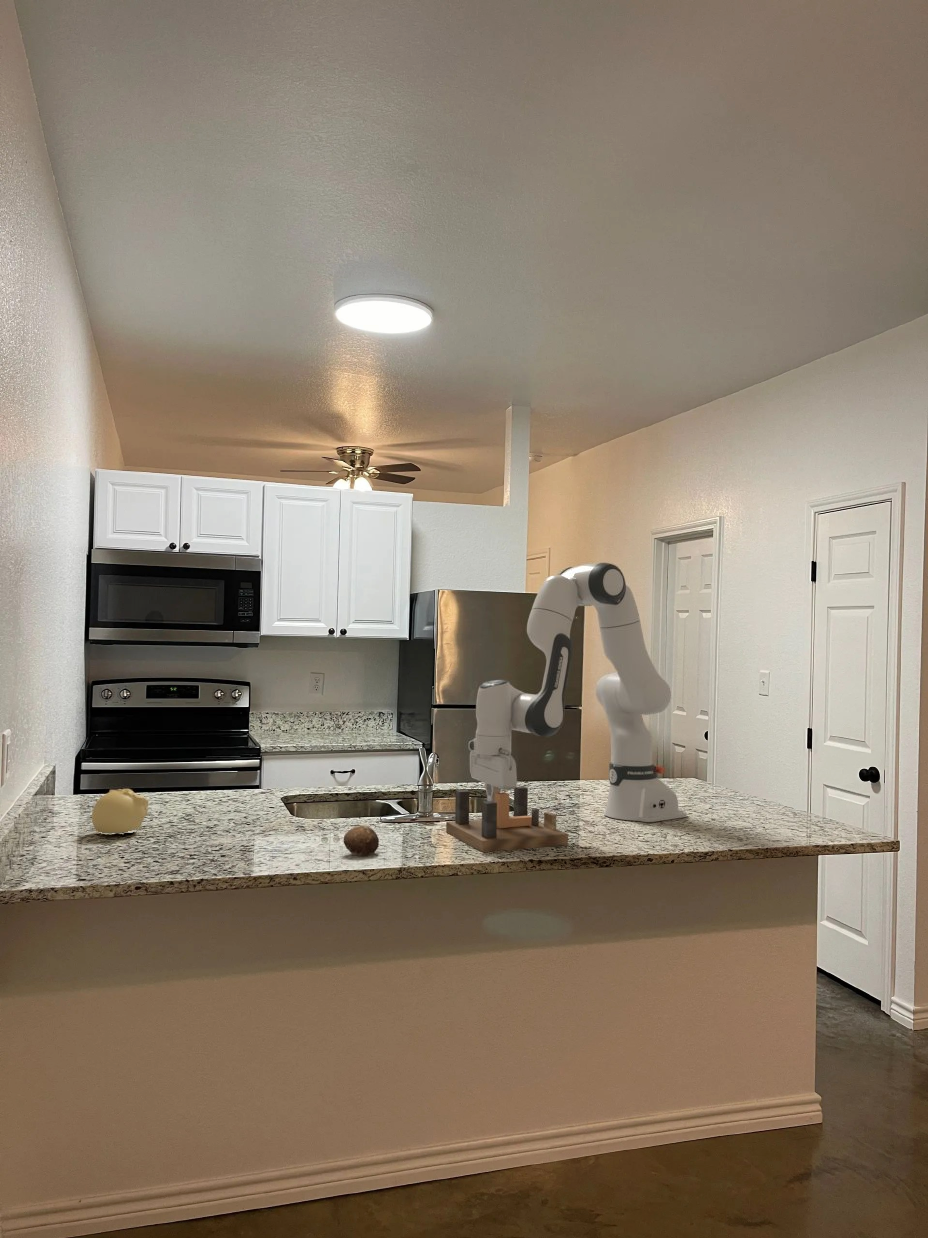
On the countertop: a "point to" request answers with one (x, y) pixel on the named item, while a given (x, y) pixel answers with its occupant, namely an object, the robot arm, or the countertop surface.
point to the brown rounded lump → (361, 840)
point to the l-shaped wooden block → (503, 813)
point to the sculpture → (119, 811)
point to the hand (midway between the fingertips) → (492, 802)
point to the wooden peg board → (495, 839)
